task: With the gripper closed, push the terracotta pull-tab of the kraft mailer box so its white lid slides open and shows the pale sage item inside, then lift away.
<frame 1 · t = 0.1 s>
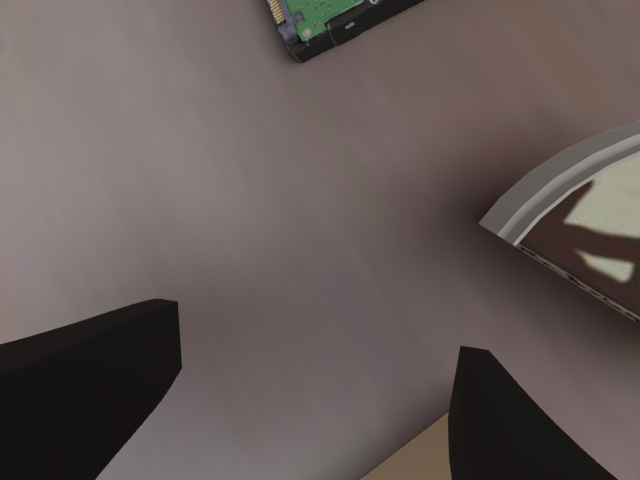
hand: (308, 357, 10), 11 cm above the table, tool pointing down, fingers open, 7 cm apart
food container: (613, 223, 18), on the table
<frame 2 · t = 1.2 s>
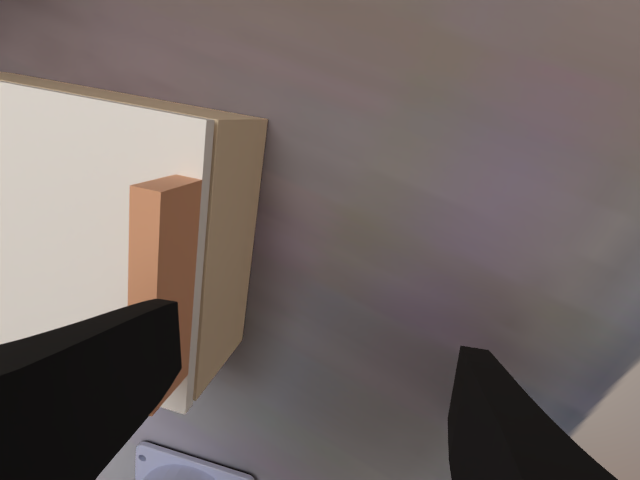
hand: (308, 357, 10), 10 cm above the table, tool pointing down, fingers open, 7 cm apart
lid: (11, 251, 16), point 7 cm above the table, slide at 0.0 cm
mailer box: (131, 211, 22), on the table
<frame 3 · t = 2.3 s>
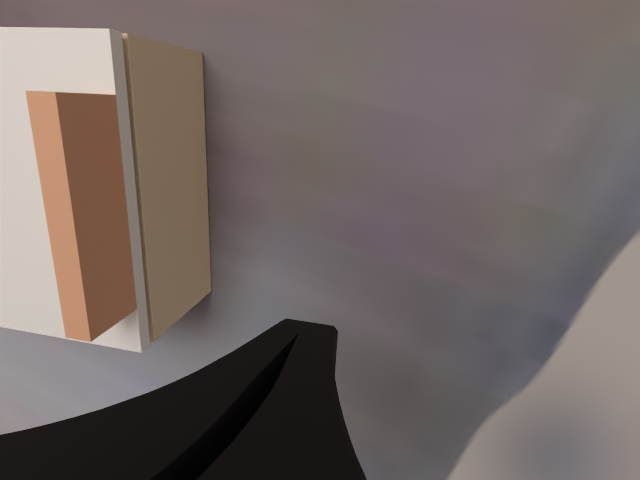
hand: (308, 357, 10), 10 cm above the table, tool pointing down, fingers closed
mailer box: (86, 171, 22), on the table
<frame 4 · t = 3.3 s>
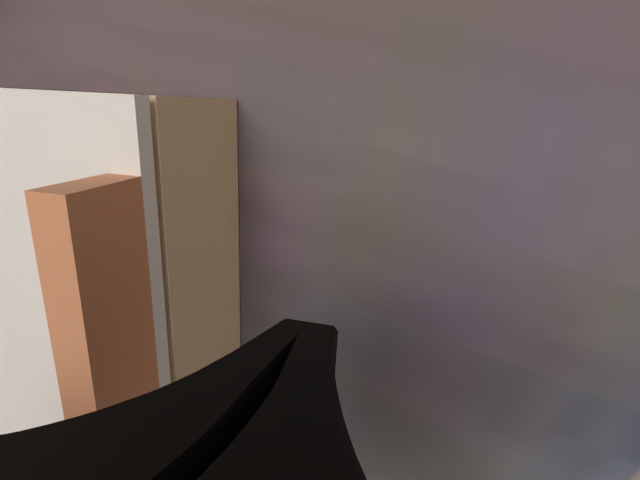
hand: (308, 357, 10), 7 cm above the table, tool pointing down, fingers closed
mailer box: (96, 229, 19), on the table
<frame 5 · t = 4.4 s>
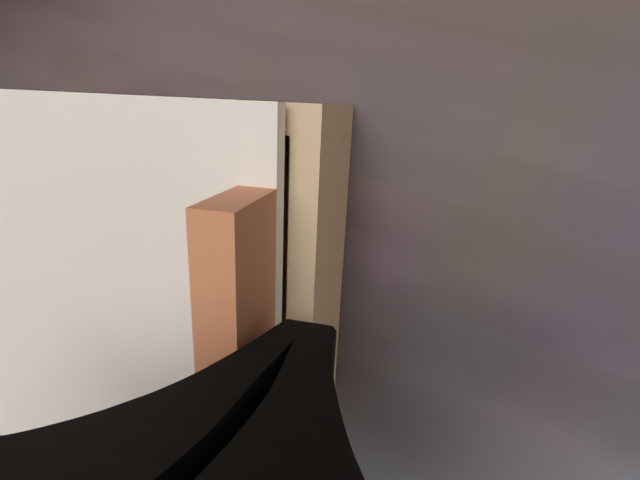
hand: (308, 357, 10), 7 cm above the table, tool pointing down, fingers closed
lid: (28, 313, 12), point 7 cm above the table, slide at 0.9 cm, touching gripper
mailer box: (186, 241, 18), on the table
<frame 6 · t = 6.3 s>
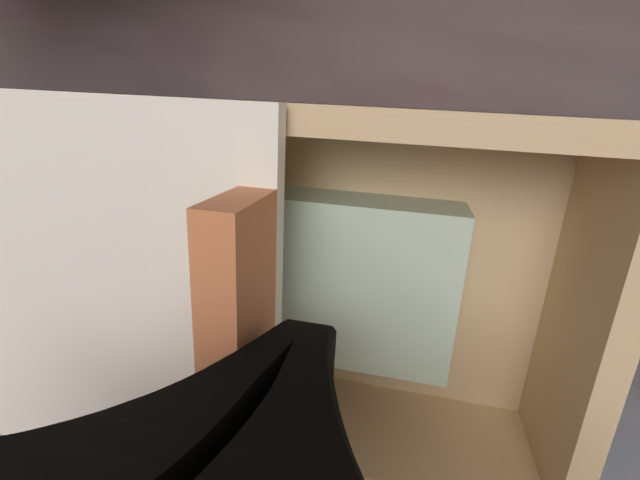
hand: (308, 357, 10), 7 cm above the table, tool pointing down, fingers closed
lid: (28, 312, 12), point 7 cm above the table, slide at 9.1 cm, touching gripper
mailer box: (374, 264, 17), on the table
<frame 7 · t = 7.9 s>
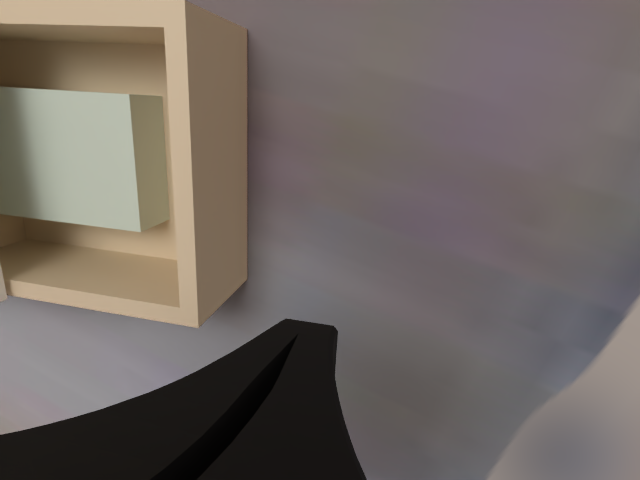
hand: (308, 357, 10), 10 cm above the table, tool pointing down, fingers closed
mailer box: (120, 154, 22), on the table
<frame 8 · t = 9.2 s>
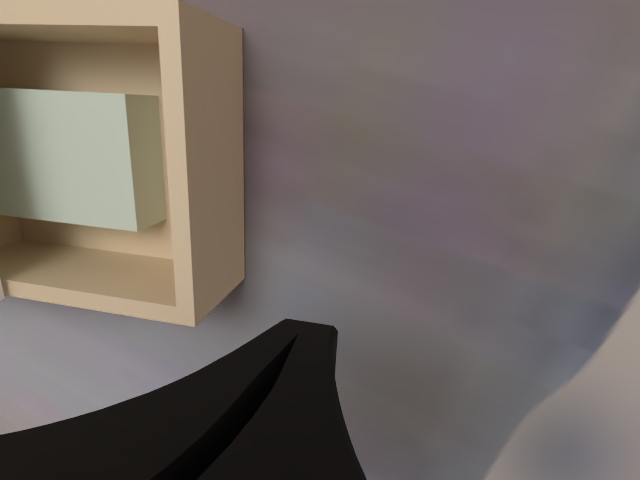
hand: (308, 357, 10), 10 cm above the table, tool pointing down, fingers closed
mailer box: (117, 154, 22), on the table
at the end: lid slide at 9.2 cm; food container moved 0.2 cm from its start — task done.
